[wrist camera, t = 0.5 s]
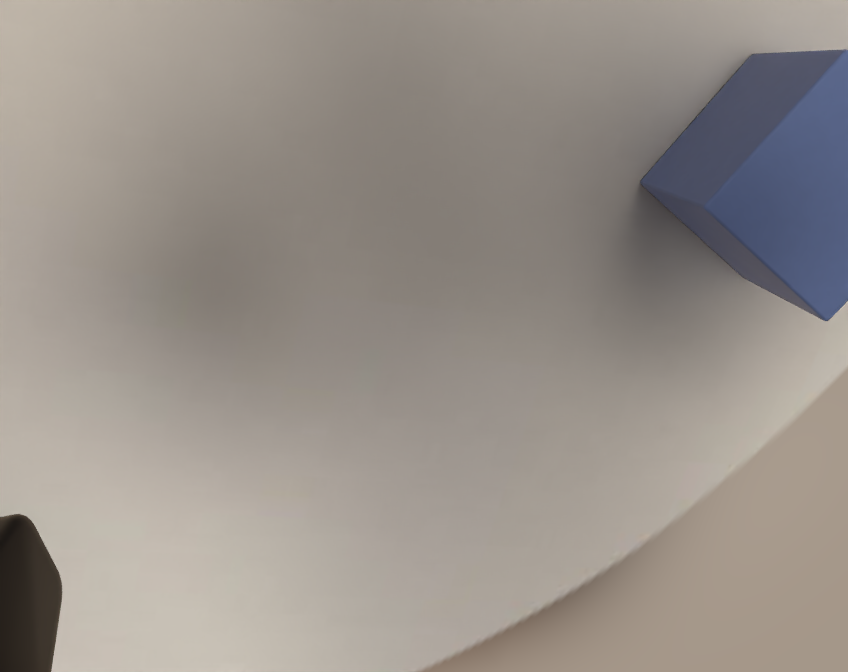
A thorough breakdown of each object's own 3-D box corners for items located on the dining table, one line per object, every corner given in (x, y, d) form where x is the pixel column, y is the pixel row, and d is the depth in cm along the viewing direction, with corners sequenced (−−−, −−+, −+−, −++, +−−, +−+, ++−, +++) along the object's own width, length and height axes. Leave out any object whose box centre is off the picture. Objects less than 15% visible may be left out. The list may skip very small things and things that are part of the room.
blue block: (743, 278, 24) (827, 323, 19) (638, 182, 23) (703, 207, 18) (855, 159, 23) (968, 178, 19) (752, 52, 22) (847, 47, 17)
